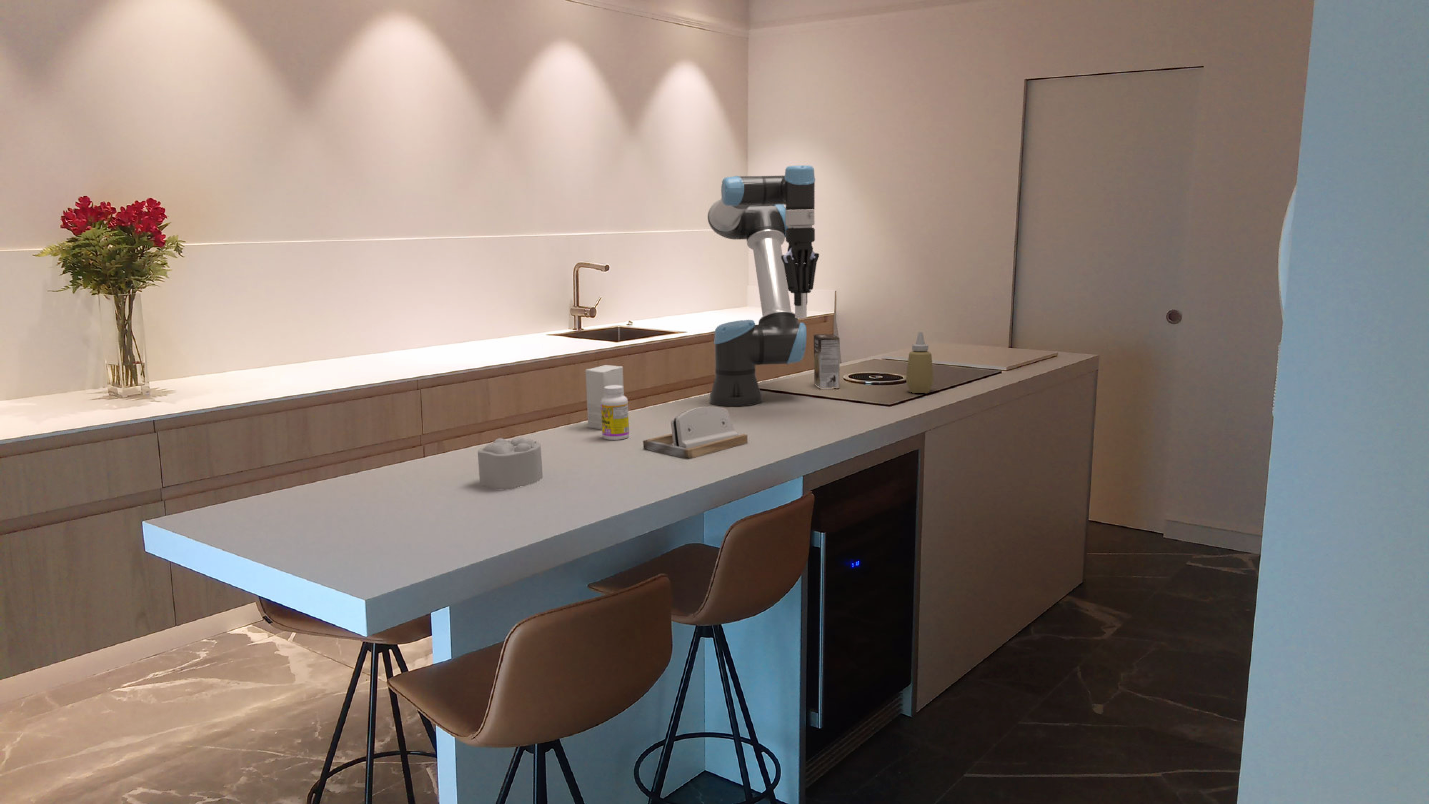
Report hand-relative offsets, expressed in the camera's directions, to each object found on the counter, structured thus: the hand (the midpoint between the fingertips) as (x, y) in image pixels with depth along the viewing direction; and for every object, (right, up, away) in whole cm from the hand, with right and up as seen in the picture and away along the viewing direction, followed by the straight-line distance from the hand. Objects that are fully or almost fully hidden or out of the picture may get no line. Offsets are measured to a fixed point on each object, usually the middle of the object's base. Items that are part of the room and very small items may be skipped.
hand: (800, 317), depth 252 cm
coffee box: (+12, -18, +48) cm, 52 cm away
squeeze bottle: (+39, -20, +34) cm, 55 cm away
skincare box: (-51, -29, -1) cm, 58 cm away
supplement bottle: (-47, -31, -15) cm, 58 cm away
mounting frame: (-27, -33, -26) cm, 50 cm away
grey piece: (-25, -32, -23) cm, 47 cm away
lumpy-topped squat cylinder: (-65, -39, -51) cm, 91 cm away
